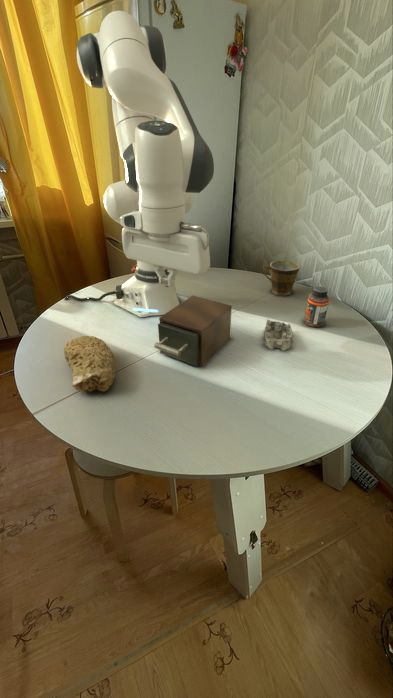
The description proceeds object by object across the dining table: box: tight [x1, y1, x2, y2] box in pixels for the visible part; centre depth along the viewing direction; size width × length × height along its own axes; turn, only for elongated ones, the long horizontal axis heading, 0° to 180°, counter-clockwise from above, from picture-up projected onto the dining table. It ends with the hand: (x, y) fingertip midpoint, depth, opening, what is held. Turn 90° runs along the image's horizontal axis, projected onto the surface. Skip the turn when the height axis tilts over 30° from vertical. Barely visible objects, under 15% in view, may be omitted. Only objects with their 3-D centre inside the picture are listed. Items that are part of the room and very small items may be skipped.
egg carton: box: [263, 319, 293, 351], centre depth 99 cm, size 11×8×4 cm
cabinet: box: [158, 295, 233, 367], centre depth 95 cm, size 16×13×11 cm
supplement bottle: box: [303, 286, 330, 328], centre depth 105 cm, size 6×6×11 cm
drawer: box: [153, 321, 199, 367], centre depth 92 cm, size 19×11×9 cm, turn 148°
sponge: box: [63, 335, 116, 393], centre depth 87 cm, size 13×8×20 cm
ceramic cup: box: [260, 259, 301, 297], centre depth 124 cm, size 13×10×10 cm
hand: (166, 284), depth 77 cm, fingers closed
